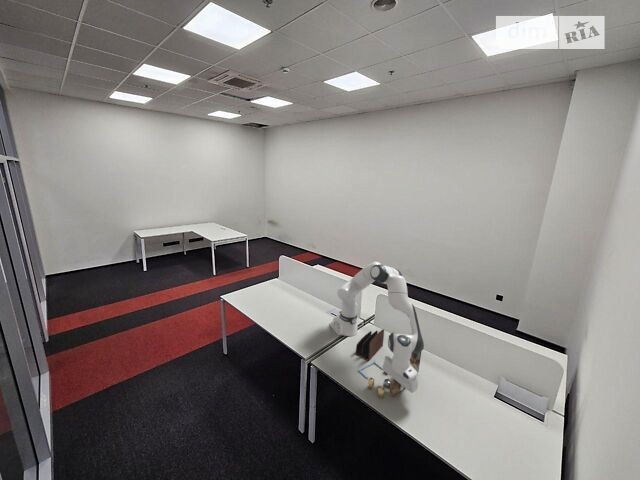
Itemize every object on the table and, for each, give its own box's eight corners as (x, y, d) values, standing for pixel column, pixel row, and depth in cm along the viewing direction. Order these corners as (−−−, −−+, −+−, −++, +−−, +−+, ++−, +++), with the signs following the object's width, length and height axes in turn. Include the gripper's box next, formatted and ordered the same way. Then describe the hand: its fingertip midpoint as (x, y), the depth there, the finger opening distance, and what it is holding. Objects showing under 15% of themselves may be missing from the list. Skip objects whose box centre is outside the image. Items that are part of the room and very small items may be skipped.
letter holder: (382, 346, 181) (385, 328, 177) (368, 361, 166) (370, 342, 162) (369, 340, 187) (371, 322, 183) (355, 354, 172) (356, 335, 168)
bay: (358, 370, 157) (358, 369, 157) (374, 361, 165) (374, 360, 165) (366, 378, 152) (367, 377, 151) (383, 369, 159) (383, 368, 159)
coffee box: (412, 366, 163) (415, 343, 158) (418, 373, 157) (422, 350, 153) (399, 368, 160) (402, 346, 156) (404, 376, 154) (408, 353, 150)
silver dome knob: (384, 387, 146) (385, 384, 146) (383, 381, 150) (383, 378, 150) (392, 388, 146) (393, 385, 145) (391, 381, 150) (391, 379, 150)
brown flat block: (389, 392, 141) (390, 383, 140) (401, 384, 147) (402, 375, 145) (392, 396, 139) (393, 386, 138) (404, 387, 145) (406, 378, 143)
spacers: (363, 383, 149) (363, 375, 147) (388, 368, 160) (388, 361, 159) (383, 402, 137) (384, 394, 136) (408, 384, 149) (409, 377, 147)
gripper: (381, 356, 145) (379, 377, 149) (413, 380, 129) (409, 403, 133) (389, 352, 149) (386, 372, 153) (420, 375, 133) (417, 397, 137)
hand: (397, 387), depth 143 cm, fingers closed on brown flat block, 2 cm apart
